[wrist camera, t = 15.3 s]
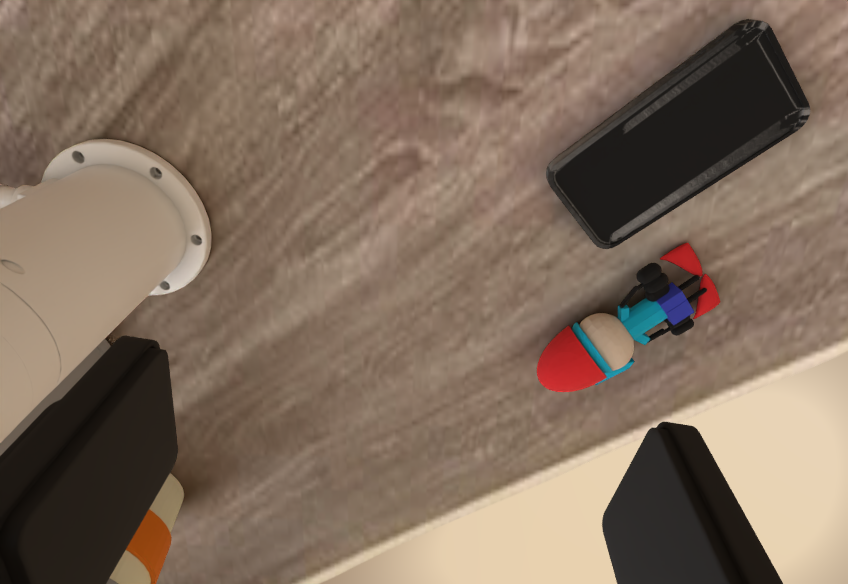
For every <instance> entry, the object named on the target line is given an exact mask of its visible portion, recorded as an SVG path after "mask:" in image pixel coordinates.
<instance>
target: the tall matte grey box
mask: <svg viewBox="0 0 848 584" xmlns="http://www.w3.org/2000/svg"><path fill="white" fill-rule="evenodd" d="M110 347H111V346H110V344H109V343H108V342H107V340H106V339H104V340H103V341H102V342H101V343H100V344H99V345H98V346H97V347H96V348H95V349H94V350H93V351H92V352H91V353H90V354H89V355H88V356H87V357H86V358H85V359H84V360H83V361H82V362H81V363H80V364H79V365H78V366H77V367H76V368H75V369H74V370H73V371H72V372H71V373H70V374H69V375H68V376H67V377H66V378H65V379H64V380H63V381H62V382H61V383H60V384H59V385H58V386H57V387H56V388H55V389H54V390H53V391H52V392H51V393H49V394H48V395H47V396H46V397H45V398H44V399H43V400H42V401H41V402H40V403H39V404H38V405H37V406H36V407H35V408H34V409H33V410H32V411H31V412H30V413H29V414H28V415H27V416H26V417H25V418H24V419H23V420H22V421H21V422H20V423H19V424H18V425H17V426H16V428H15V429H14V430H13V431H12V432H11V433H10V434H9V435H8V436H7V437H6V438H5V439H4V440H3V441H2V442H1V443H0V456H1V455H2V454H3V453H4V452H5V451H6V450H7V448H8V447H9V446H10V445H11V444H12V443H13V442H14V441H15V440H16V439H17V438H18V437H19V436H20V435H21V434H22V433H23V432H24V431H25V430H26V429H27V428H28V427H29V426H30V424H31V423H32V422H33V421H34V420H35V419H36V418H37V417H38V416H39V415H40V414H41V413H42V412H43V411H44V410H45V409H46V408H47V407H48V406H50V405H51V404H52V403H54V402H56V401H58V400H61V399H62V398H63V397H64V396H65V394H66V393H67V392H68V391H69V390H70V389H71V388H72V387H73V386H74V385H75V384H76V383H77V382H78V381H79V380H80V379H81V378H82V376H83V375H84V374H85V373H86V372H87V371H88V370H89V369H90V368H91V367H92V366H93V365H94V364H95V363H96V362H97V361H98V359H99V358H100V357H101V356H102V355H103V354H104V353H105V352H106V351H107V350H108V349H109V348H110Z"/></svg>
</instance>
